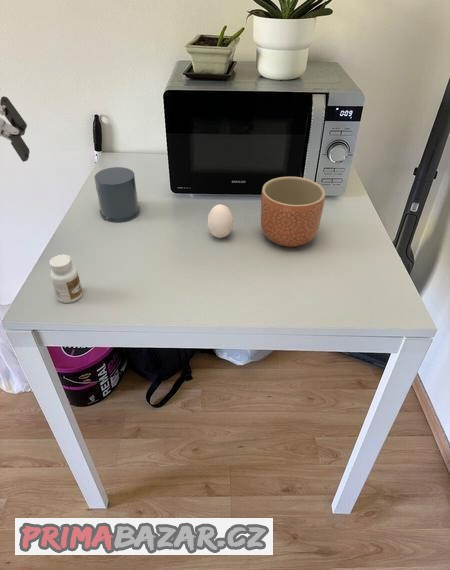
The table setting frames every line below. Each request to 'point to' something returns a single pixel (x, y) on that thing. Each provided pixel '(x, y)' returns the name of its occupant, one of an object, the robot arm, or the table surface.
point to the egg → (220, 221)
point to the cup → (117, 194)
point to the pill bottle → (65, 279)
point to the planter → (291, 210)
